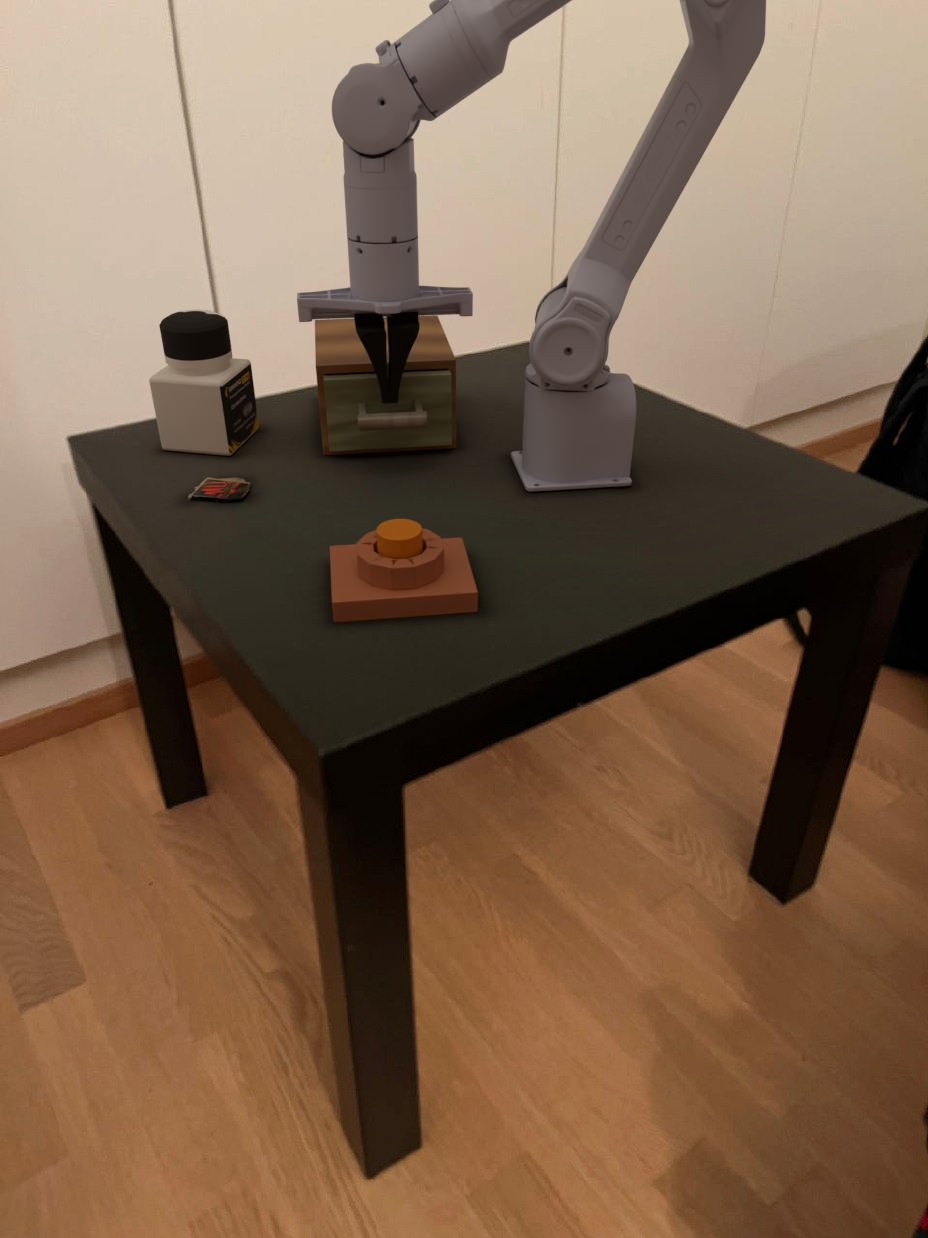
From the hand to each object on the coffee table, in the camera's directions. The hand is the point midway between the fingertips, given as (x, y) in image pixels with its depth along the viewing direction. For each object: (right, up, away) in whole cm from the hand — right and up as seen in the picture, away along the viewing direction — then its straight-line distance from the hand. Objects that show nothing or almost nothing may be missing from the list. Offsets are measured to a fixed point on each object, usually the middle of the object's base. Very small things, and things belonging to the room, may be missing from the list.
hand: (389, 399), depth 83 cm
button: (+2, -15, -17) cm, 22 cm away
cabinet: (-1, 0, +12) cm, 12 cm away
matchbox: (-14, -8, -2) cm, 17 cm away
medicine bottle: (-18, -2, +8) cm, 20 cm away
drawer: (-1, -1, +8) cm, 8 cm away
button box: (+2, -17, -15) cm, 23 cm away
